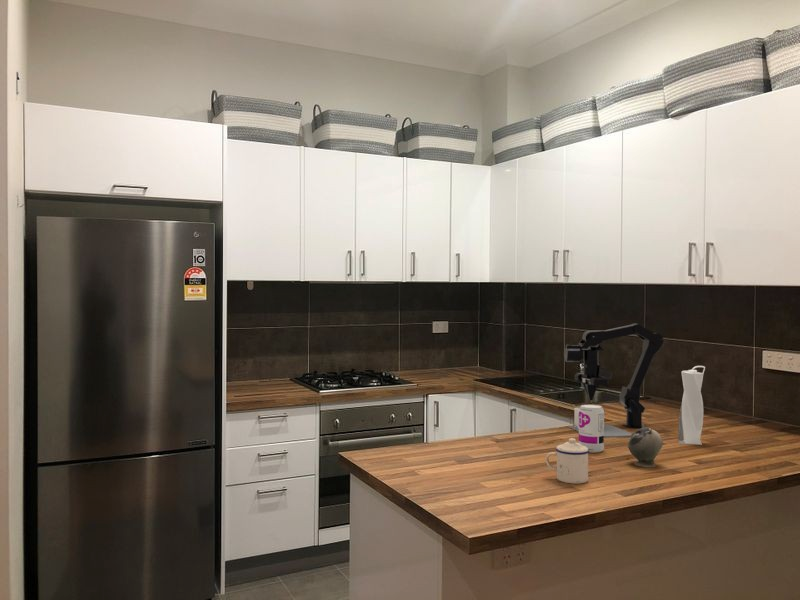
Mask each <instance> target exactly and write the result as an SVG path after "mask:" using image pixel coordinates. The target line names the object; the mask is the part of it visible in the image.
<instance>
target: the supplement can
mask: <svg viewBox="0 0 800 600" xmlns="http://www.w3.org/2000/svg"><path fill="white" fill-rule="evenodd" d="M579 408H580V409H579V432H578V443H579V444H581V445H582V446H585V447H587V448H588V450H589V452H588V453H593V454H595V453H596V454H597V453H602V452H603V451H604V450H605V437H604V425H605V411H604V408H603V406H601V405H597V404H582V405H580V407H579Z"/></svg>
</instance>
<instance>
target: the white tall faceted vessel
mask: <svg viewBox="0 0 800 600" xmlns="http://www.w3.org/2000/svg"><path fill="white" fill-rule="evenodd" d="M697 368H703V370H702V372H699V371H698V369H697ZM705 370H706V366H704V365H695V366H694V367H692V368H691V369H688V370H682V371H681V378H682V386H683V394H682V399H681V400H682V401H681V406H680V407H679V408H680V410H679V418H678V430H677V431H678V437H677V438H678V439H677V441H678V442H679V444H680V445H693V446H703V444H702V441H701V436H702V432H703V431H702V430H703V423H704V400H703V396H702V392H701V391H702V385H703V381H704V380H703V378H704V373H705Z"/></svg>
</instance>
